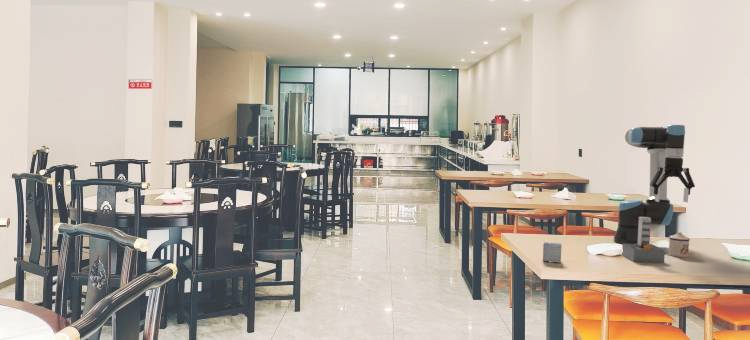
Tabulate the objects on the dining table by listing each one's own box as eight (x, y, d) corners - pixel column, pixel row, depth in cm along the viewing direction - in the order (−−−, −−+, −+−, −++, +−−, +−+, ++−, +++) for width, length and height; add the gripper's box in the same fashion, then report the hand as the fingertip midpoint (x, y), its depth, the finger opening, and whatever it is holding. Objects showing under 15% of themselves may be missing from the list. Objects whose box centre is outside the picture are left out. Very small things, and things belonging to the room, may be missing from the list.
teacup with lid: (683, 258, 284) (684, 234, 283) (664, 254, 291) (665, 231, 290) (694, 255, 291) (696, 232, 290) (676, 252, 298) (677, 229, 298)
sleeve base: (622, 255, 287) (622, 240, 287) (651, 256, 287) (652, 240, 286) (633, 261, 273) (634, 245, 273) (664, 262, 273) (665, 246, 272)
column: (636, 257, 282) (638, 216, 281) (645, 258, 282) (647, 217, 280) (640, 260, 277) (642, 218, 276) (649, 260, 277) (651, 218, 276)
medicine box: (560, 261, 271) (561, 242, 270) (560, 263, 266) (561, 244, 266) (543, 259, 273) (543, 241, 272) (542, 261, 269) (543, 243, 268)
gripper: (651, 157, 275) (648, 202, 277) (704, 158, 275) (701, 203, 277) (644, 156, 282) (641, 200, 284) (696, 157, 282) (693, 200, 284)
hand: (671, 201), depth 280 cm, fingers open, 13 cm apart
